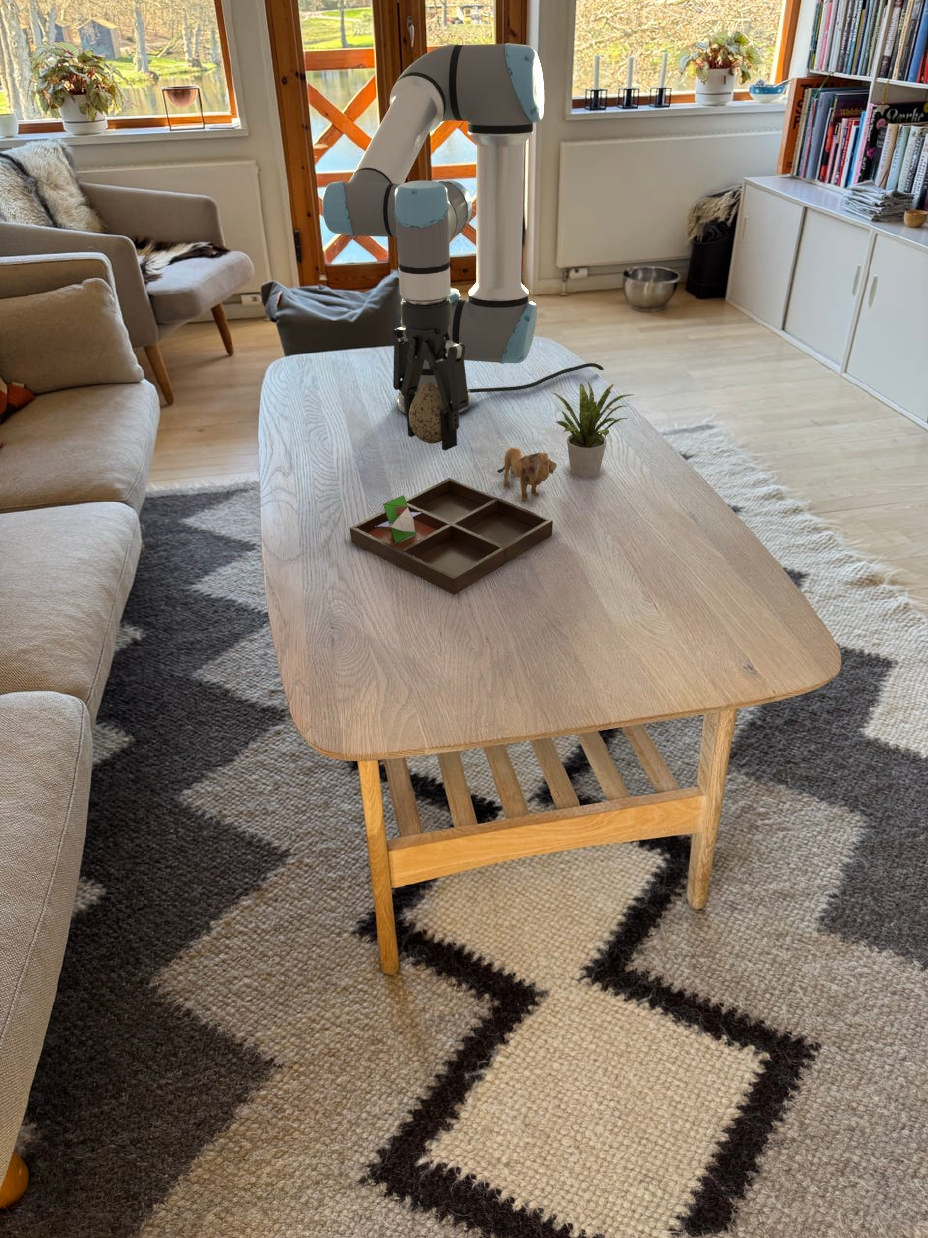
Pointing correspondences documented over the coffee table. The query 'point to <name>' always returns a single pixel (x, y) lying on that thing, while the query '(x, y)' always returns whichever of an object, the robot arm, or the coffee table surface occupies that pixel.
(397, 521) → the geometric puzzle
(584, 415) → the house plant
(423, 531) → the sorting tray
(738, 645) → the coffee table surface
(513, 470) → the lion figurine
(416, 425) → the decorative egg
